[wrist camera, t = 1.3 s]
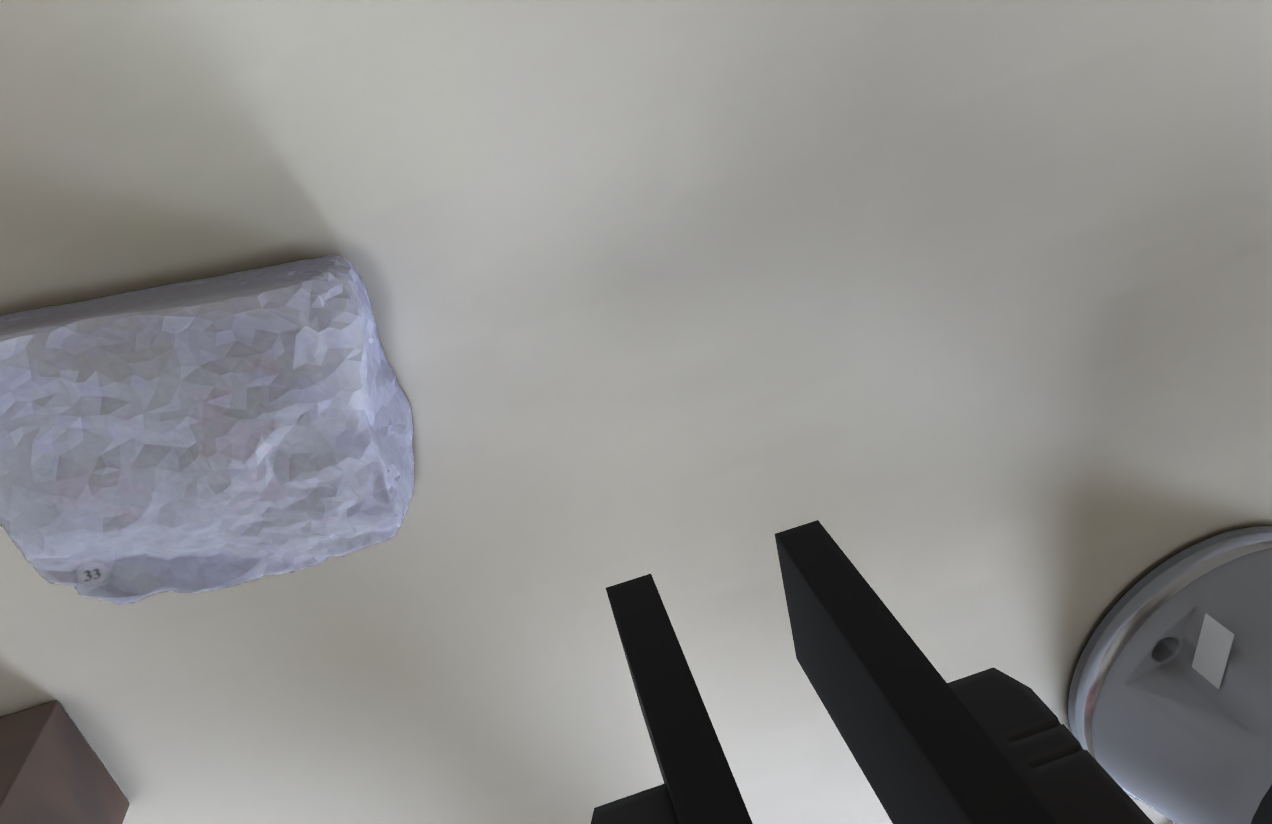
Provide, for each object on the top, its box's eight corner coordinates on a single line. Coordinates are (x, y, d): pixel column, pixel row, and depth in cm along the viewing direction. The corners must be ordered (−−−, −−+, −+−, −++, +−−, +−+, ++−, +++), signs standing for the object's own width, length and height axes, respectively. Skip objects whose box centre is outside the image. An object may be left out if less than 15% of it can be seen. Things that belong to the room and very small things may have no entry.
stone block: (437, 467, 32) (355, 218, 26) (440, 560, 28) (344, 293, 22) (106, 539, 31) (-61, 295, 25) (62, 645, 27) (-147, 388, 21)
